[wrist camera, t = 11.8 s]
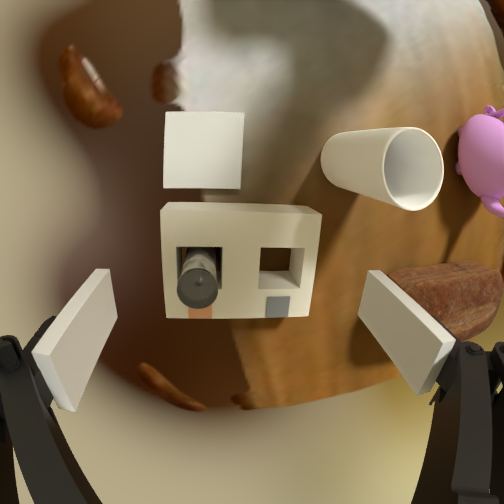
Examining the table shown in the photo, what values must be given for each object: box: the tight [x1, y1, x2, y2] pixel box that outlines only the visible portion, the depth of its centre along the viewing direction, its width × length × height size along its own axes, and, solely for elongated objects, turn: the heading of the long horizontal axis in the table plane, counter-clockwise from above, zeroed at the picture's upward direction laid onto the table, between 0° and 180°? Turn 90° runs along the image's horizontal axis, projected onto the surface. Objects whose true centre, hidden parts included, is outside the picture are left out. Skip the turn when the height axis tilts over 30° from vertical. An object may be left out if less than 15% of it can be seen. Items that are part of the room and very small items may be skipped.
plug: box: [177, 247, 218, 309], centre depth 35 cm, size 4×4×12 cm
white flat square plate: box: [163, 112, 244, 189], centre depth 35 cm, size 10×10×1 cm
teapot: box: [456, 106, 504, 218], centre depth 34 cm, size 22×16×14 cm
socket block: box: [160, 202, 322, 319], centre depth 38 cm, size 14×19×6 cm
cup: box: [321, 127, 444, 211], centre depth 31 cm, size 8×8×16 cm
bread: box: [388, 260, 503, 342], centre depth 43 cm, size 14×28×12 cm, turn 91°
